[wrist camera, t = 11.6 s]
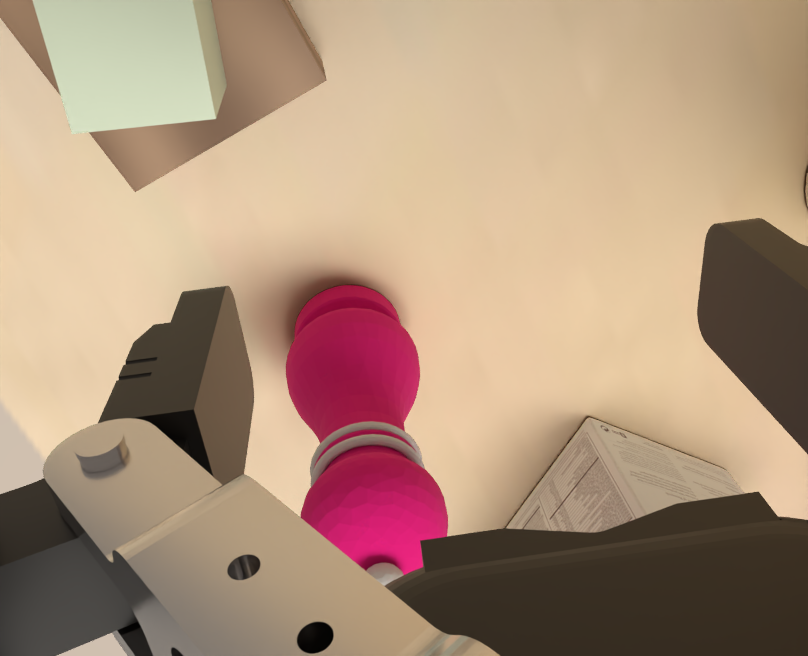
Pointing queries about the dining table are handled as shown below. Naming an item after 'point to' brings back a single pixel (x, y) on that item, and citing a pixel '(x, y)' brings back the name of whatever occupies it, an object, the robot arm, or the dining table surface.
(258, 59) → the walnut box
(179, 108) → the green block
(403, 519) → the pepper mill
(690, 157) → the dining table surface
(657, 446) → the supplement box
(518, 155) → the dining table surface
